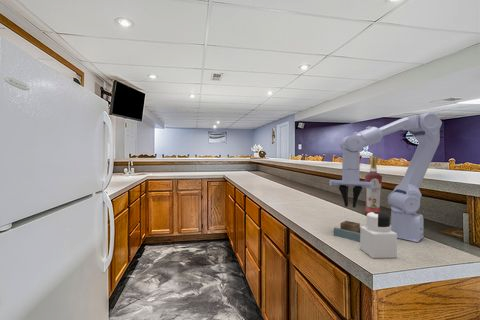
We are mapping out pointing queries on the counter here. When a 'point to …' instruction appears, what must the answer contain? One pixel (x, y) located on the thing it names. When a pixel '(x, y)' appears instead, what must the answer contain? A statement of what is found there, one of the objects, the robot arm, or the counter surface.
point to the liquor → (373, 193)
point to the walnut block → (350, 226)
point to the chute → (347, 234)
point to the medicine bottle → (378, 236)
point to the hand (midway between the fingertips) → (350, 206)
